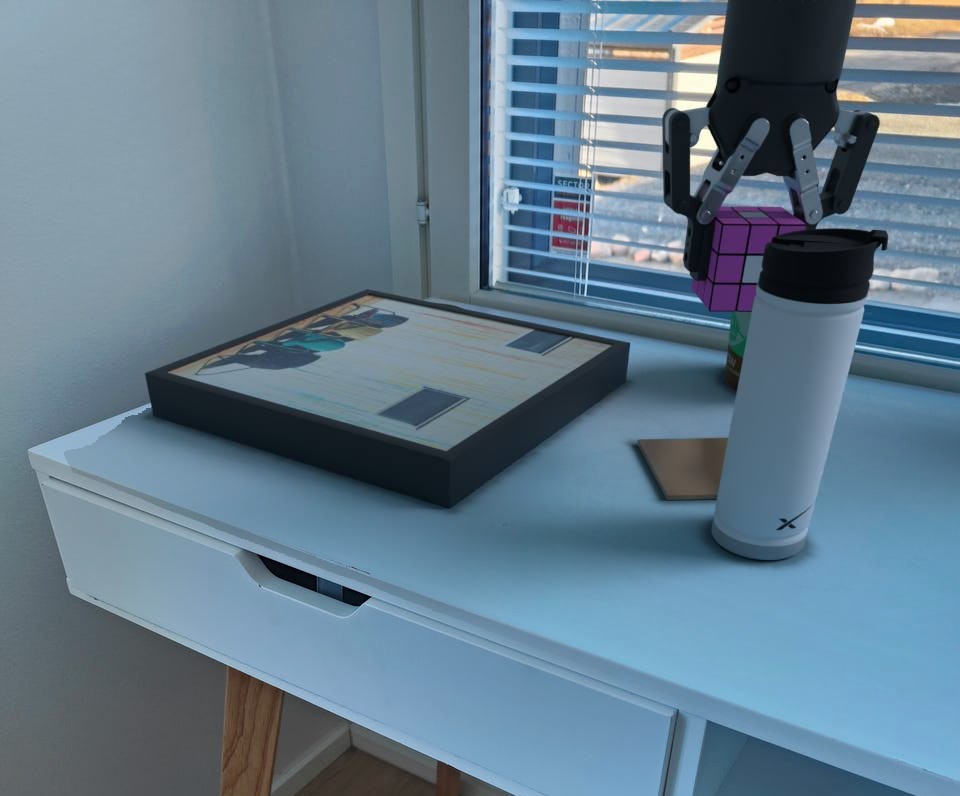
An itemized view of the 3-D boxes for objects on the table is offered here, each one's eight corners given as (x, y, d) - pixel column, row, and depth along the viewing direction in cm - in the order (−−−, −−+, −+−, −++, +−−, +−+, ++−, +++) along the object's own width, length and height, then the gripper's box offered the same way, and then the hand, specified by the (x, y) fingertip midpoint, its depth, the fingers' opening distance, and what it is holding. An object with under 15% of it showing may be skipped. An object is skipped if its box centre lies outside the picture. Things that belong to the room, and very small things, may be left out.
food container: (695, 361, 93) (712, 256, 87) (755, 360, 93) (775, 255, 88) (736, 409, 83) (758, 294, 77) (803, 407, 83) (829, 293, 78)
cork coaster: (755, 441, 77) (755, 437, 77) (798, 497, 69) (799, 492, 69) (636, 443, 77) (637, 439, 76) (666, 500, 68) (667, 495, 68)
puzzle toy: (690, 289, 69) (702, 205, 66) (766, 289, 69) (782, 206, 66) (708, 312, 64) (722, 223, 61) (789, 312, 64) (807, 224, 61)
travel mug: (805, 570, 61) (890, 246, 49) (703, 551, 63) (762, 234, 51) (812, 527, 66) (891, 222, 54) (717, 510, 67) (774, 212, 56)
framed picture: (367, 288, 98) (630, 342, 86) (369, 324, 101) (626, 382, 88) (144, 373, 77) (449, 460, 65) (153, 415, 80) (450, 508, 67)
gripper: (692, -13, 52) (655, 294, 62) (937, -9, 53) (862, 292, 63) (661, -15, 58) (631, 265, 68) (881, -11, 60) (821, 264, 69)
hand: (743, 277), depth 66 cm, fingers closed on puzzle toy, 6 cm apart
